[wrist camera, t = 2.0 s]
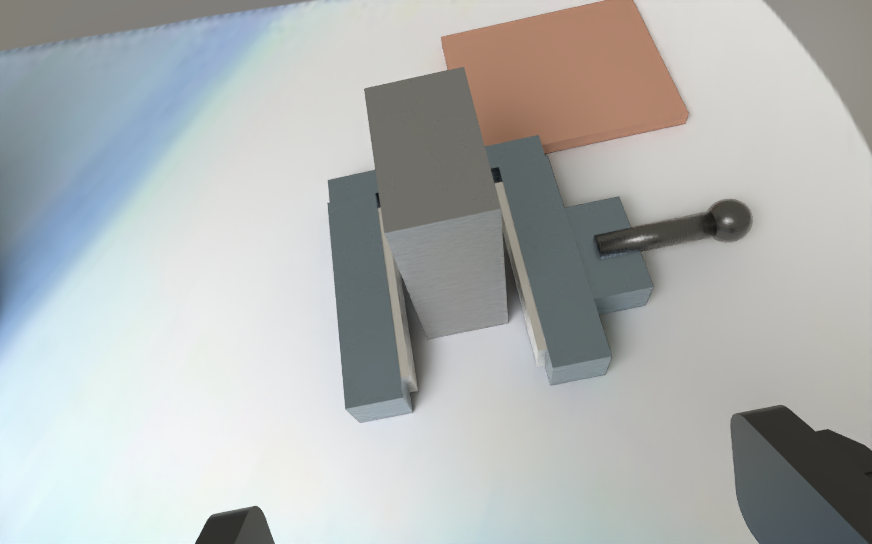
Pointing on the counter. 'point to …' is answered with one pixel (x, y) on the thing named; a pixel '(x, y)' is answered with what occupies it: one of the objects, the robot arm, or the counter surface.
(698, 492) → the counter surface
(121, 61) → the counter surface
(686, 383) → the counter surface
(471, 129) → the gray rectangular prism
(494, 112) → the mat
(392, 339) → the vise
